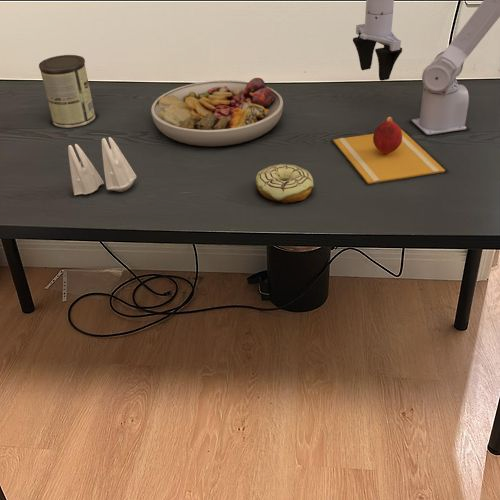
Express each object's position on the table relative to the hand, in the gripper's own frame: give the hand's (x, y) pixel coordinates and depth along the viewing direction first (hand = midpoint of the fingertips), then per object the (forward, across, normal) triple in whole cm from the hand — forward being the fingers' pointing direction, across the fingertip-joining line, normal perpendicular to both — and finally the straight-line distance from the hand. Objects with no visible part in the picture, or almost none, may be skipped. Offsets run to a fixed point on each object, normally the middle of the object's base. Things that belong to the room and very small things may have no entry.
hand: (374, 74), depth 141 cm
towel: (+10, +19, -8) cm, 23 cm away
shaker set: (+10, +6, -64) cm, 65 cm away
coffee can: (+10, -32, -63) cm, 72 cm away
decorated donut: (+10, +22, -33) cm, 42 cm away
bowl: (+10, -13, -33) cm, 37 cm away
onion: (+10, +19, -8) cm, 23 cm away
